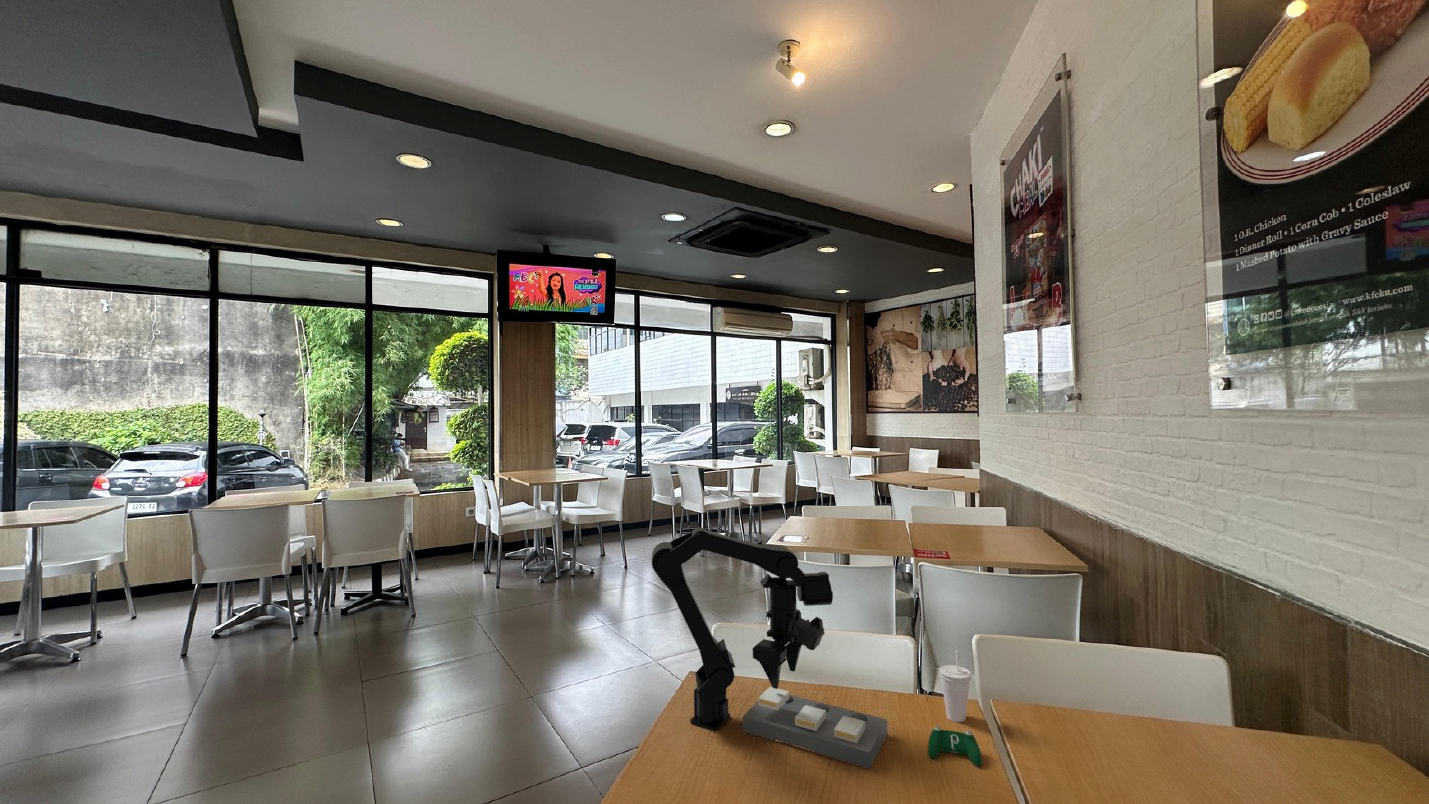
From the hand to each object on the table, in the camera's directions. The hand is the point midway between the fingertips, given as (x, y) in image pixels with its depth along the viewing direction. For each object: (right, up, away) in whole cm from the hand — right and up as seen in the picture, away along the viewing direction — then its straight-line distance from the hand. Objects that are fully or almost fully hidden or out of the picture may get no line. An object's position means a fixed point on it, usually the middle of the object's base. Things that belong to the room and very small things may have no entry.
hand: (784, 679), depth 125 cm
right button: (+11, -4, -13) cm, 18 cm away
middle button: (+4, -4, -9) cm, 11 cm away
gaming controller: (+30, -7, -15) cm, 35 cm away
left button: (-3, -2, -5) cm, 6 cm away
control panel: (+5, -7, -7) cm, 12 cm away
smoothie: (+36, -7, -2) cm, 37 cm away
